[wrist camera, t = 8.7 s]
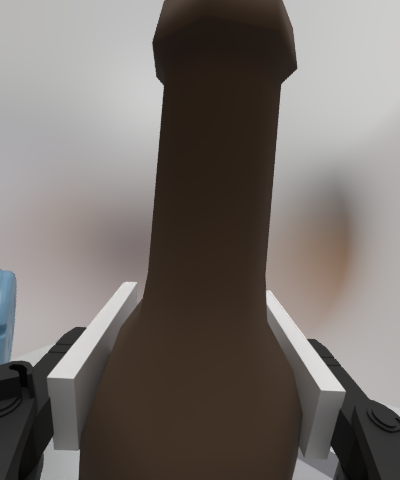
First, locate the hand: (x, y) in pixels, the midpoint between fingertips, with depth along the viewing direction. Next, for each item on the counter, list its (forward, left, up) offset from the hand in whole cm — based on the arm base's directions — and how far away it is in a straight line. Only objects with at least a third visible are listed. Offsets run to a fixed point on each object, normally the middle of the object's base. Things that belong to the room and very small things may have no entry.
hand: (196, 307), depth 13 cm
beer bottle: (+2, -4, -13) cm, 14 cm away
